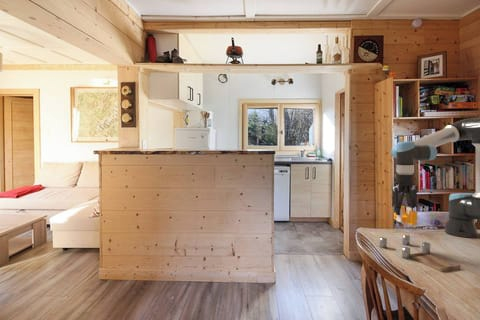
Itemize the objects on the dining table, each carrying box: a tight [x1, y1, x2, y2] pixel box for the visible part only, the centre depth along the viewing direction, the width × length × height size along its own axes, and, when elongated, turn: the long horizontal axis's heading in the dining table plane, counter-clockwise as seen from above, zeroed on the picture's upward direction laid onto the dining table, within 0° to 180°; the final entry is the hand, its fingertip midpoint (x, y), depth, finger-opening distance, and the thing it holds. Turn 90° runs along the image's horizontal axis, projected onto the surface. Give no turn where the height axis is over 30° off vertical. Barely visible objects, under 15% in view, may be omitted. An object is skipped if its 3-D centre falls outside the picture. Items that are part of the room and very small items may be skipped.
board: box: [410, 251, 461, 273], centre depth 132 cm, size 10×16×2 cm, turn 15°
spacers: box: [379, 234, 431, 260], centre depth 147 cm, size 17×18×4 cm
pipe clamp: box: [393, 205, 418, 226], centre depth 146 cm, size 12×4×6 cm, turn 2°
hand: (404, 221), depth 148 cm, fingers closed on pipe clamp, 5 cm apart
